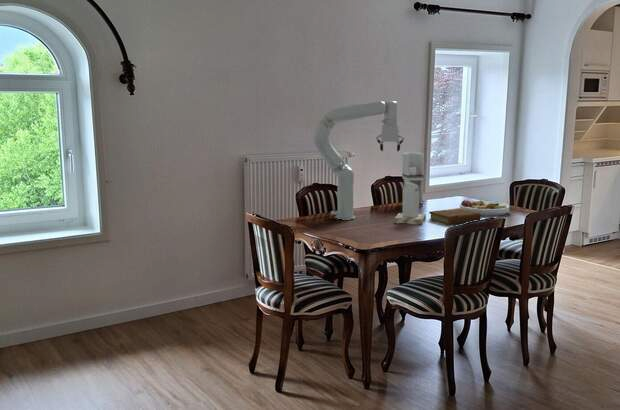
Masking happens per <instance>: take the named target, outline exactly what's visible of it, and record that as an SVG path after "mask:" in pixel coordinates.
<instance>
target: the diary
mask: <svg viewBox="0 0 620 410" xmlns="http://www.w3.org/2000/svg"><path fill="white" fill-rule="evenodd" d="M428 213H429V214H430V219H428V221H430V220H431V221H430V222H433V221H434V223H437V222H438V223H437V224H441V225H443V226H444V225H445V226H450V227H451V226H458V224H459V225H464V224H463V223H466V222H470V221H474V220H480V219H481V220H482V216H481V214H480V213H478V212H474V211H469V210H465V209H461V208H460V207H458V208H450V209H448V208H447V209H441V210H440V209H439V210H433V211H428Z"/></svg>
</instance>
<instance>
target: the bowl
mask: <svg viewBox="0 0 620 410" xmlns="http://www.w3.org/2000/svg"><path fill="white" fill-rule="evenodd" d="M459 208H461V209H465V210H469V211H474V212H478V213H480V214H481V217H499V216H498V215H500V216H503V215H505V214H507V213H508V212H509V211H510V205H508V204H507V203H504V202H498V201H489V200H487V201H485V200H475V201H474V200H471V201H470V200H467V199H466V200H465V199H464V200H463V201H461V202H460V203H459Z"/></svg>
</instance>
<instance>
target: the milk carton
mask: <svg viewBox="0 0 620 410" xmlns="http://www.w3.org/2000/svg"><path fill="white" fill-rule="evenodd" d="M402 201H403V205H402V212H401V213H402V216H404V217H412V218H413V217H416V216H419V214H420V207H419V189H418V188H417V185H414V184H406V186H405V188H404V187H403V190H402Z"/></svg>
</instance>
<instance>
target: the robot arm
mask: <svg viewBox="0 0 620 410" xmlns="http://www.w3.org/2000/svg"><path fill="white" fill-rule="evenodd" d="M382 114H383V120H381V124H382V123H383V124H382V125H381V126H382V127H381V134H379V135H377V136H375V140H376V141H377V143H378V144H379V149H380V151H381V152H383V151H384V144H383V143H385V142H387V143H388V142H389V143H391V142H396V143H397V145H396V152H399V151H400V150H401V144H402V143H403V142H404V141H405V139H406V138H405V136H403V135H401V134H400V133H399V132H400V130H399V125H398V122H397V121H398V103H397V101H394V100H390V101H389V100H388V101H381V100H375V101H373V102H370V103H362V104H359V103H358V104H357V103H356V104H350V105H346V106H340V107H334V108H333V107H331V108H330V109H328V110H327V111H326V112H325V114H324V115H323V116H322V118H321V120H319V122H318V124H317V125H316V126H315V128H314V133H315V134H314V138H313V139H314V141H313V142H314V146H315V148H316V149H317V151H318V153H319V154H320V155H321V157H322V158H323V159H324V161H325V164H326V165H327V166H328V168H329V169H330V170H331V172H332V173H333V174H334V176H335V177H336V178H337V191H336V192H337V210H335V211H334V210H331V211H330V215H332V216H334V215H335V216H334V219H335V218H337V219H336V220H338V219H342V220H341V221H352V220H351V219H353V220H355V218H356V219H357V216H356V215H354V185H355V184H354V182H355V181H354V180H355V174H354V170H353V169H352V168H351V167H350V166H349V165H348V164H347V163H346V162H345V160H344V159H343V158H342V156H341V154H340V153H338V151H337V150H336V148H335V147H334V146H333V145H332V143H331V141H330V138H329V137H330V135H331V130H332V129H333V128H334V126H335V125H336V124H337V123H342V122H347V121H352V120H358V119H363V118H367V117H373V116H379V115H382ZM400 138H401V140H399V139H400Z"/></svg>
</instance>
